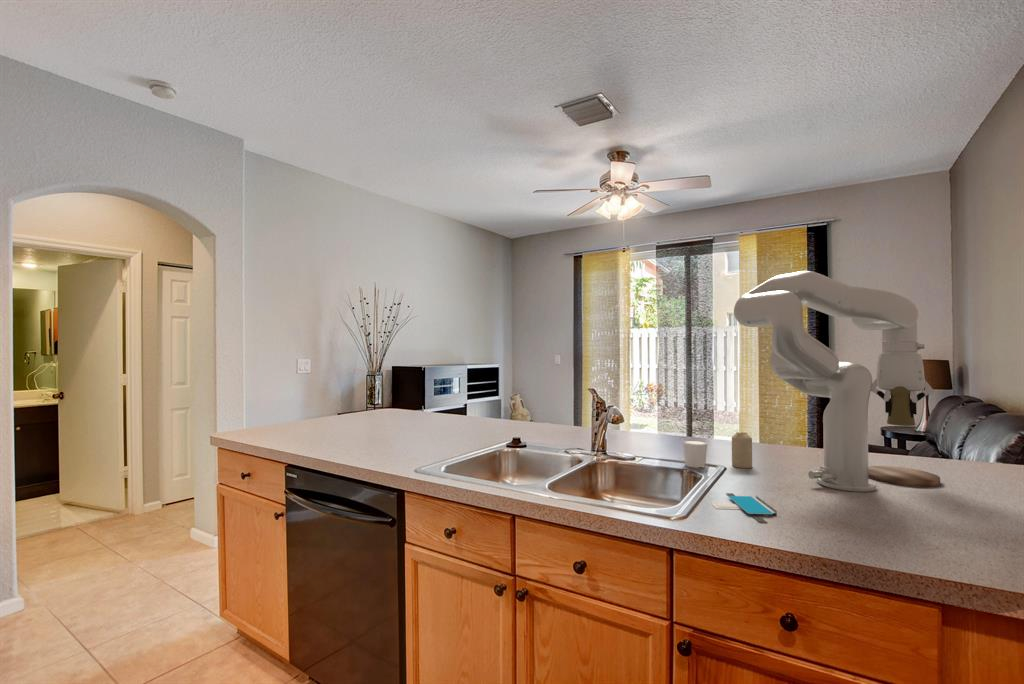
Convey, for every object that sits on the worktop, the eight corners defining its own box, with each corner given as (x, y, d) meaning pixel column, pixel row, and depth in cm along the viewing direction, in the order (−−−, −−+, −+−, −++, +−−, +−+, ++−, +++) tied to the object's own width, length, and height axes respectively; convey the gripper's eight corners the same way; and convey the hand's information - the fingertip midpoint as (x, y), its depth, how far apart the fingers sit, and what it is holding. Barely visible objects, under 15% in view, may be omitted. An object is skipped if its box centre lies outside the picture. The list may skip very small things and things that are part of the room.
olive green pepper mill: (883, 422, 136) (882, 382, 137) (909, 422, 134) (908, 382, 135) (892, 425, 131) (891, 384, 131) (919, 426, 129) (918, 384, 129)
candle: (743, 469, 143) (743, 434, 143) (727, 465, 148) (727, 432, 148) (756, 467, 146) (756, 433, 146) (740, 463, 151) (739, 430, 151)
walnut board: (906, 488, 123) (906, 482, 123) (850, 473, 138) (849, 467, 138) (956, 484, 126) (956, 479, 126) (895, 469, 142) (895, 464, 142)
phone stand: (700, 495, 120) (700, 488, 120) (751, 496, 119) (751, 489, 119) (729, 524, 100) (729, 516, 100) (790, 526, 99) (790, 518, 99)
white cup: (709, 468, 144) (709, 444, 144) (685, 467, 145) (684, 444, 146) (705, 463, 151) (705, 440, 151) (681, 462, 152) (681, 439, 152)
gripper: (939, 348, 131) (940, 417, 130) (862, 348, 141) (863, 412, 141) (941, 348, 125) (942, 420, 125) (860, 348, 135) (862, 415, 135)
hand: (900, 415), depth 133 cm, fingers closed on olive green pepper mill, 3 cm apart
